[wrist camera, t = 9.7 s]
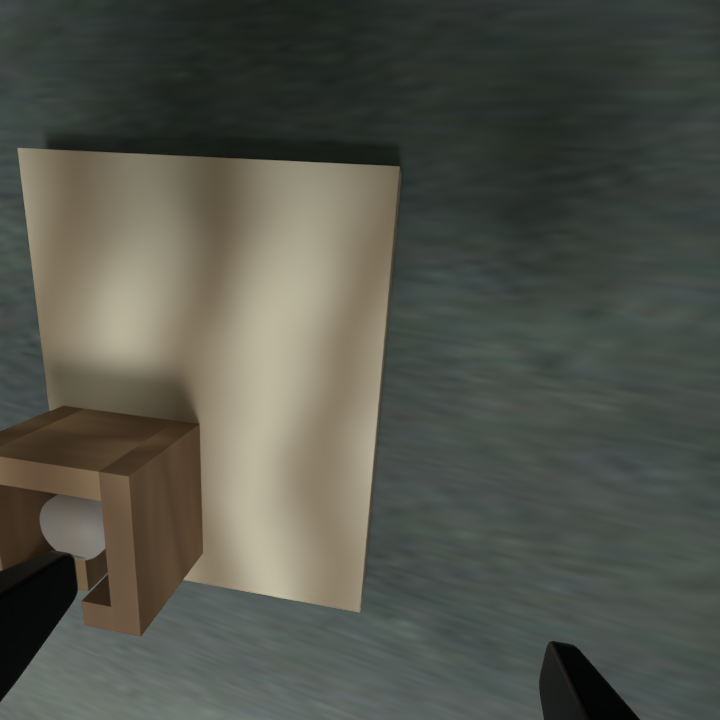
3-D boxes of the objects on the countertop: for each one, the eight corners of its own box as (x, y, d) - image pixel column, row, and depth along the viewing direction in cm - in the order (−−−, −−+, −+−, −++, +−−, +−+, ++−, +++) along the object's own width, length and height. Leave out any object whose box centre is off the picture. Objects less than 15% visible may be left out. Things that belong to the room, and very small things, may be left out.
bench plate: (401, 174, 16) (392, 138, 11) (364, 587, 20) (346, 688, 16) (50, 157, 18) (-90, 118, 13) (90, 539, 22) (-1, 615, 18)
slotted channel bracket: (199, 423, 18) (128, 476, 14) (203, 553, 20) (140, 636, 15) (63, 405, 19) (-45, 449, 14) (77, 531, 20) (-16, 604, 16)
